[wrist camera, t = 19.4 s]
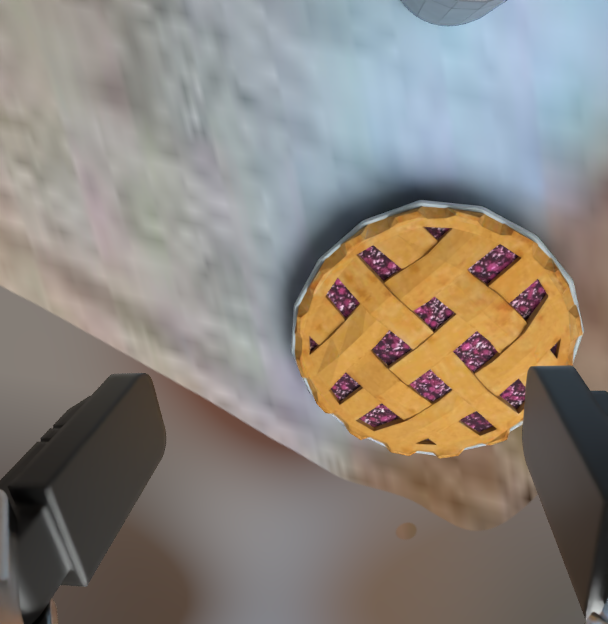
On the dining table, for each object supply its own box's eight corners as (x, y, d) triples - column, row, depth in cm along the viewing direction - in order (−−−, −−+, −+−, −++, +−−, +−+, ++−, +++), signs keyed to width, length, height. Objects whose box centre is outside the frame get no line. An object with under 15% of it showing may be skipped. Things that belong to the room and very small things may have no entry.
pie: (250, 338, 45) (235, 367, 41) (413, 132, 36) (417, 139, 32) (436, 469, 48) (441, 508, 44) (628, 308, 39) (660, 338, 35)
